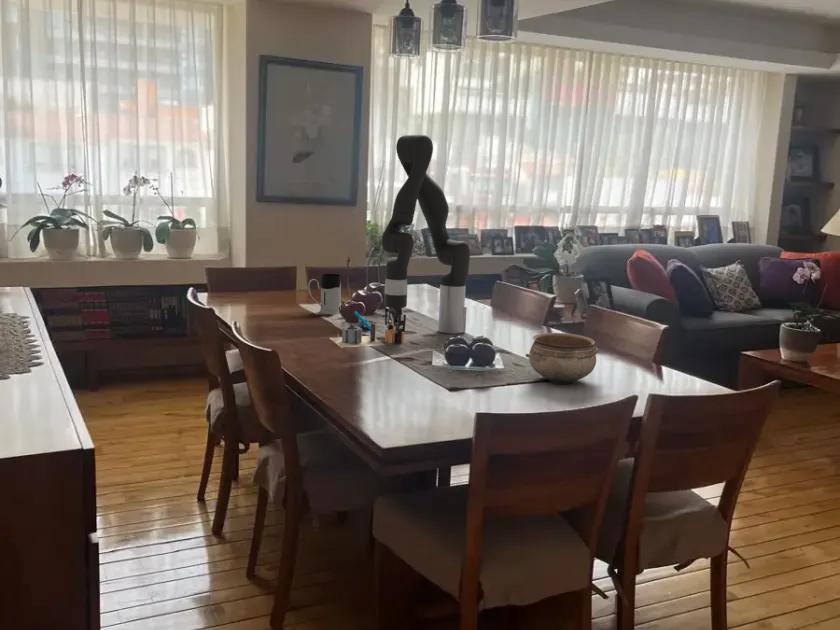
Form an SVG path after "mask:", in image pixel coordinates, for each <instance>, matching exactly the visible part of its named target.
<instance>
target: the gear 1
mask: <svg viewBox="0 0 840 630" xmlns="http://www.w3.org/2000/svg"><path fill="white" fill-rule="evenodd" d="M362 336H363V328H362V326H361V327H357V326H355V329H354V330H353V329H350V326H344V327H342V328H341V337H342V342H343V343H349V344H355V343H356V344H358V343H360V342H362Z"/></svg>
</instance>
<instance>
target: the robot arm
mask: <svg viewBox="0 0 840 630" xmlns="http://www.w3.org/2000/svg"><path fill="white" fill-rule="evenodd" d="M395 147H396V149H395V150H396V154H397V157H398V160H399V163H401V166H402V168H403V170H404V172H405V174H406V176H407V178H406V181H405V182H404V183H403V184H402V186H401V187H400V189H399V190H398V192H397V194H396V197H395V200H394V205H393V207H392V208H393V209H392V215H391V218H390V220H389V222H388V223H387V226H386V228H385V230H384V231H383V234H382V238H381V247H382V250H383V251H385V252H387V253H389V254H397V258H396V259H393V260H389V261H387V262H386V267H385V283H384V296H383V297H384V299H383V305H384V325H385V326H386V329H387V330H390V329H393V330H395V338H394V343H393V344H394V345H399V344H402V343H401V337H402V333H403V332H404V333H405V330H406V321H407V320H406V319H407V315H406V314H403V309H404V308H406V307H407V306H408V305H407V303H408V267H409V263H410V259H411V256H412V253H413V251H414V243H415V242H414V237H413V236H412V235H411V234H410V233H409V232H403V231H401V230H402V229H403V228H404V227H410V226H412V224H413V221H414V216H415V211H416V206H417V202H418V205H419V207H420V209H421V212H422V215H423V217H424V220H425V221H426V225H427V227H428V230H429V233H430V236H431V239H432V243H433V247H434V250H435V254H436V257H437V260H438V261H439V263H440V264H442V265H444V266H448V267H449V266H451V267H450V272H449V273H447V274H444V275H442V276H441V277H440V282H439V283H440V284H439V304H438V321H437V322H438V323H437V325H438V326H437V332H440V333H444V334H462V333H466V326H467V325H466V324H467V309H468V307H467V306H466V305H465V303H466V285H467V284H466V283H467V279H468V276H469V269H470V258H471V251H470V249H471V248H470V247H469V245H468V243H467V242H465V241H462V240H455V239H451V237H450V235H449V233H448V231H447V221H448V217H449V213H450V209H449V204H448V201H447V199H446V196H445V193H444V190H443V189H442V187H441V186H440V185H439V184H438V182H436V181H435V180H434V179H433V178H432V177H431V176H430V175H429V174H428V172H427V171H428V168H429V166H430V163H431V161H432V157H433V152H434V143H433V141H432V139H431V137H430V136H428V135H426V134H410V135H402V136H401V137H399V138H398V139H397V141H396V146H395Z"/></svg>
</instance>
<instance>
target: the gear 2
mask: <svg viewBox="0 0 840 630" xmlns="http://www.w3.org/2000/svg"><path fill="white" fill-rule="evenodd" d="M394 338H395V330H393V329H390V330H388V329H386V330H385V331H384V342H386V343H388V344H395V343H394ZM404 342H405V332H403V333H402V337H401V344H402V343H404Z"/></svg>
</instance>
